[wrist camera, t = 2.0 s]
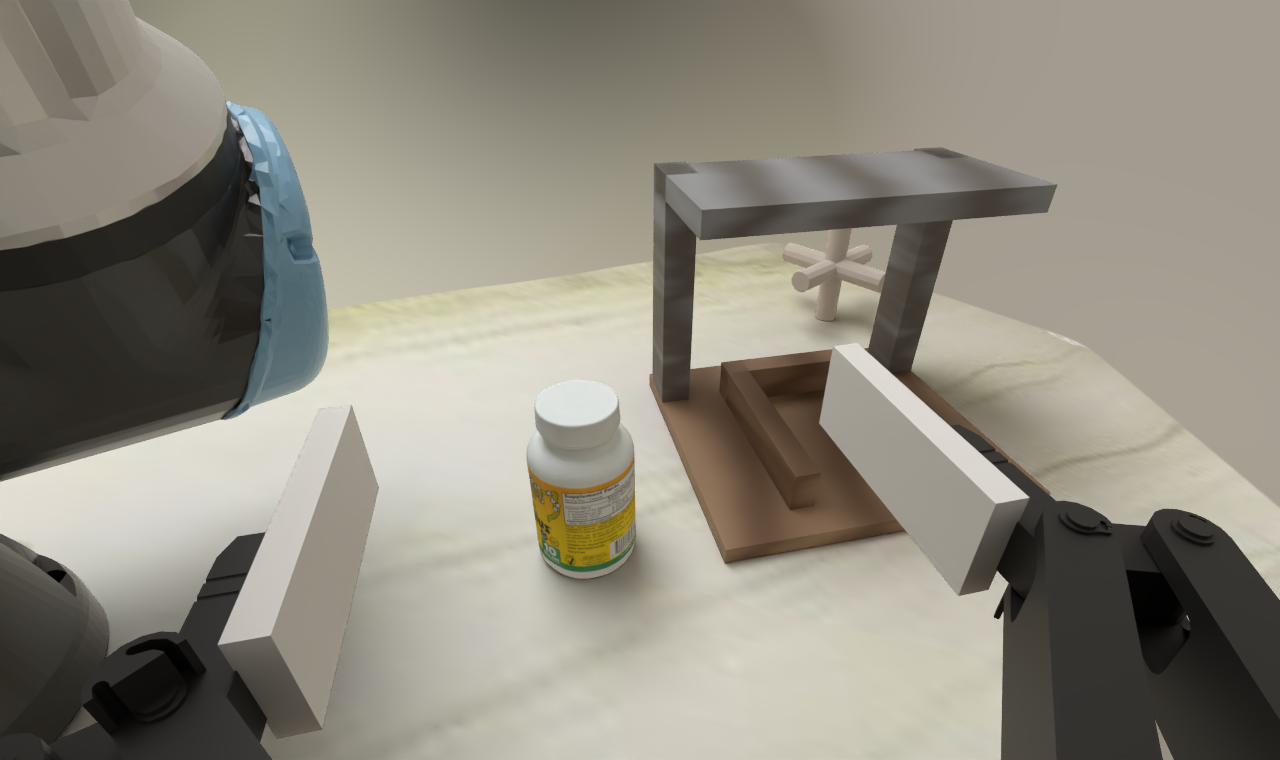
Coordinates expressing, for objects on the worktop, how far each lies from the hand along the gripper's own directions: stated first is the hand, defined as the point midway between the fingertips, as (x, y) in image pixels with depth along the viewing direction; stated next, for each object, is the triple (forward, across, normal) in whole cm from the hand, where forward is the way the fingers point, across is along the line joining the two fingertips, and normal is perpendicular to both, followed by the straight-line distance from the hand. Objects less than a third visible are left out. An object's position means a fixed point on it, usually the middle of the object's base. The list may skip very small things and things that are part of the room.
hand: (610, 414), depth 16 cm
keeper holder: (+16, +17, -16) cm, 28 cm away
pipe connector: (+33, +26, -16) cm, 45 cm away
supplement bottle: (+10, 0, -16) cm, 19 cm away
